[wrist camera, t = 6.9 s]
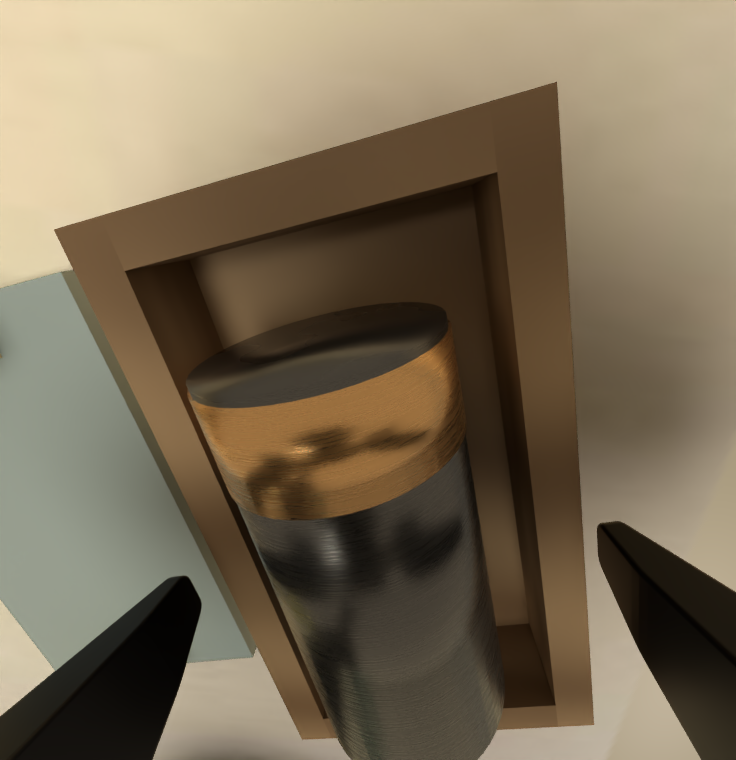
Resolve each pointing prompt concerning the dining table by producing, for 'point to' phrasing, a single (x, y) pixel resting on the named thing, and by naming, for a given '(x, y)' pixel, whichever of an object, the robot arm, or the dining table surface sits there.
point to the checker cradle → (89, 486)
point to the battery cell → (366, 520)
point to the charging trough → (369, 287)
